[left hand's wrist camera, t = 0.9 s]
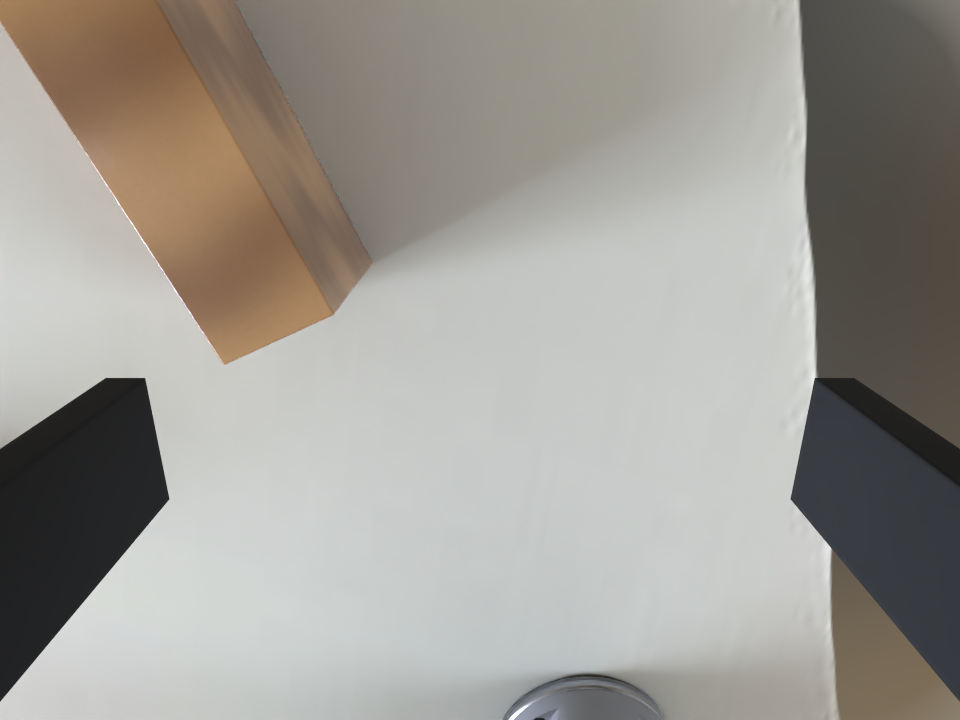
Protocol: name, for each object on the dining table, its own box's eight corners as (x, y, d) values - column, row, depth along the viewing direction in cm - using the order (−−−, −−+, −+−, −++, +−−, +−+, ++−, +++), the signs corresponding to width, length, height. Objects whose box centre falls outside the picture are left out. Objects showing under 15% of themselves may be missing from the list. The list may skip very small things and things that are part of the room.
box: (372, 263, 41) (334, 314, 30) (289, 302, 42) (223, 365, 31) (138, -182, 33) (-32, -331, 22) (40, -121, 34) (-169, -234, 23)
